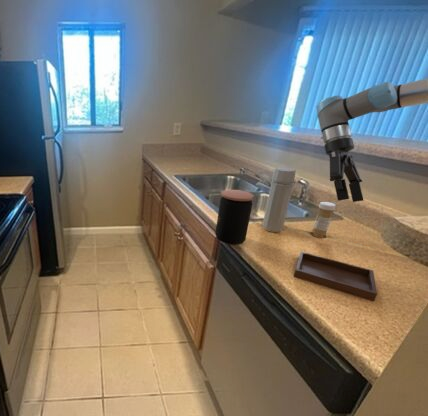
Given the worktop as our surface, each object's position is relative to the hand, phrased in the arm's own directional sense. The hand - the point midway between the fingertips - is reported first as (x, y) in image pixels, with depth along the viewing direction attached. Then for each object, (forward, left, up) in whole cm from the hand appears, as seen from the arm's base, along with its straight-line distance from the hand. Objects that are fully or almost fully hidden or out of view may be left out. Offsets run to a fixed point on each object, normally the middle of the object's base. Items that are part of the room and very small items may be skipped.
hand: (351, 200), depth 92 cm
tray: (+1, +24, -17) cm, 30 cm away
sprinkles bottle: (+6, -6, -18) cm, 19 cm away
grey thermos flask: (+21, -1, -18) cm, 27 cm away
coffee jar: (+32, +17, -18) cm, 40 cm away
